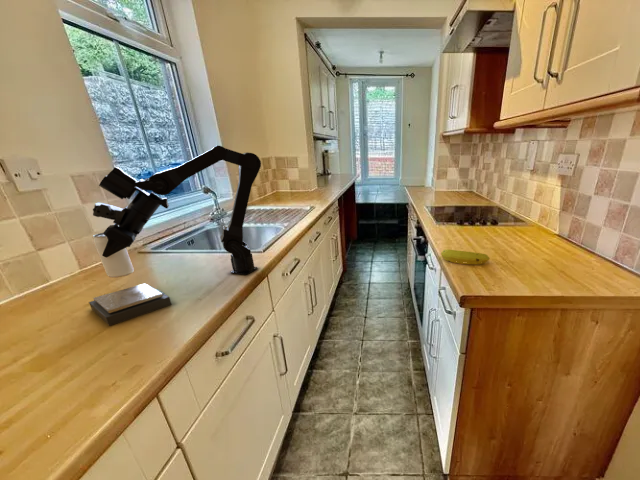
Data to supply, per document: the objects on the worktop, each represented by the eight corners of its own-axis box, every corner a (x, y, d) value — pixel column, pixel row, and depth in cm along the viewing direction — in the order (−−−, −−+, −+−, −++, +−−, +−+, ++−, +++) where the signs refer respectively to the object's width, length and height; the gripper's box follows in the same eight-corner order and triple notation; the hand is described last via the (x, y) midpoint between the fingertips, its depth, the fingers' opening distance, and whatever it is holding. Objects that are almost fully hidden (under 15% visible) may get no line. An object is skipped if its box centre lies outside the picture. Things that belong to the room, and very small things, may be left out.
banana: (494, 254, 112) (482, 248, 126) (446, 251, 112) (439, 245, 126) (492, 266, 113) (480, 259, 128) (444, 263, 113) (437, 256, 127)
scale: (153, 291, 95) (150, 284, 94) (173, 304, 88) (171, 296, 87) (92, 310, 85) (88, 302, 84) (109, 326, 77) (105, 317, 76)
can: (133, 275, 93) (118, 235, 88) (105, 279, 90) (88, 238, 85) (135, 268, 98) (122, 230, 93) (109, 272, 95) (93, 233, 90)
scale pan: (145, 285, 93) (145, 283, 92) (163, 296, 86) (162, 293, 86) (94, 300, 84) (92, 297, 84) (109, 313, 77) (107, 310, 77)
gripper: (115, 187, 94) (83, 229, 94) (99, 195, 79) (60, 245, 79) (155, 211, 100) (125, 250, 100) (147, 223, 85) (112, 269, 85)
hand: (107, 253), depth 91 cm, fingers closed on can, 6 cm apart
